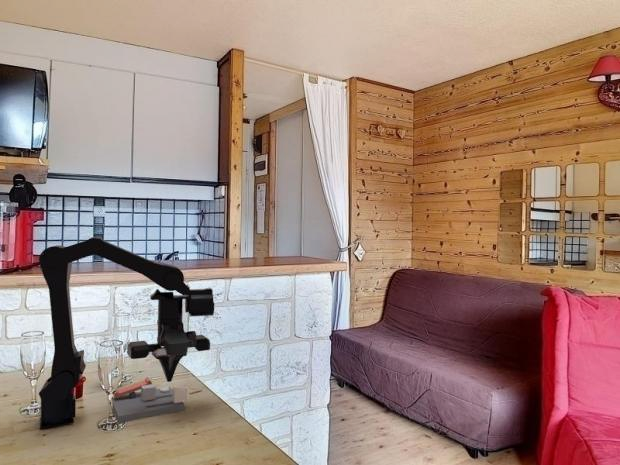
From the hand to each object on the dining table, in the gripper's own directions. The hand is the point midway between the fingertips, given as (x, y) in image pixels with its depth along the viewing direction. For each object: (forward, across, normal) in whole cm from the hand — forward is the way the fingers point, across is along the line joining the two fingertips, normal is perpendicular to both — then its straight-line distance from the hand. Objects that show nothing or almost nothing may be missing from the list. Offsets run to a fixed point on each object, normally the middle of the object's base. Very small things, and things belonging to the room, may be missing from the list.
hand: (168, 381), depth 112 cm
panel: (+7, -4, +5) cm, 9 cm away
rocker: (+3, -7, +9) cm, 12 cm away
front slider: (+5, +3, 0) cm, 6 cm away
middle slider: (+5, -4, +5) cm, 8 cm away
